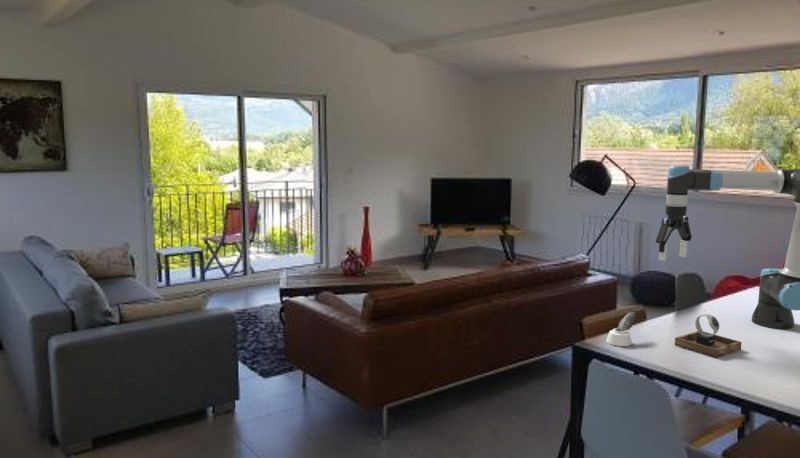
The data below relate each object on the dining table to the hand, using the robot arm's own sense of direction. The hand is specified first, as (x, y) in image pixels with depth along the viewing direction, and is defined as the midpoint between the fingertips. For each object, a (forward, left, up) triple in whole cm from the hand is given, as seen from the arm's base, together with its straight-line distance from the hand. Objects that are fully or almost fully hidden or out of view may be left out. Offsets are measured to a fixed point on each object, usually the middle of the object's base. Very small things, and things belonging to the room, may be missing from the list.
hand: (672, 258), depth 248 cm
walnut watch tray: (+9, +22, -29) cm, 37 cm away
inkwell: (+27, -1, -29) cm, 40 cm away
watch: (+8, +21, -28) cm, 36 cm away
